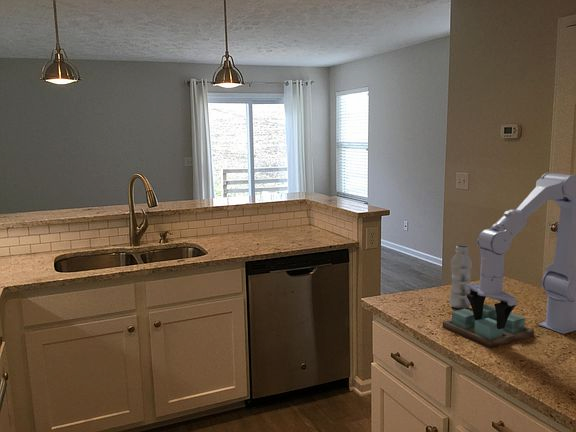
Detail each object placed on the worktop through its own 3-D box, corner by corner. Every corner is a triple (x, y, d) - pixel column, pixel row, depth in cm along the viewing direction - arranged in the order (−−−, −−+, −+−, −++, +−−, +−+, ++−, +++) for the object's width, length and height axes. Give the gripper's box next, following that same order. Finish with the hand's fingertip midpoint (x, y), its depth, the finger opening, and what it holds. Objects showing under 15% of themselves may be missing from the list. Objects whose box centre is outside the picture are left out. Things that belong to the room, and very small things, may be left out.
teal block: (487, 331, 142) (487, 317, 142) (502, 337, 138) (503, 323, 137) (474, 335, 140) (474, 321, 139) (489, 341, 136) (490, 326, 135)
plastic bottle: (472, 311, 160) (475, 249, 157) (449, 310, 162) (452, 248, 158) (469, 304, 167) (472, 244, 163) (447, 303, 168) (450, 243, 165)
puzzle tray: (484, 316, 156) (485, 301, 155) (533, 335, 141) (535, 318, 140) (442, 326, 148) (443, 310, 148) (489, 348, 133) (490, 330, 133)
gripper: (459, 270, 141) (457, 317, 143) (503, 283, 128) (500, 335, 130) (478, 267, 144) (476, 313, 146) (523, 279, 131) (520, 330, 133)
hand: (489, 323), depth 138 cm, fingers open, 7 cm apart
